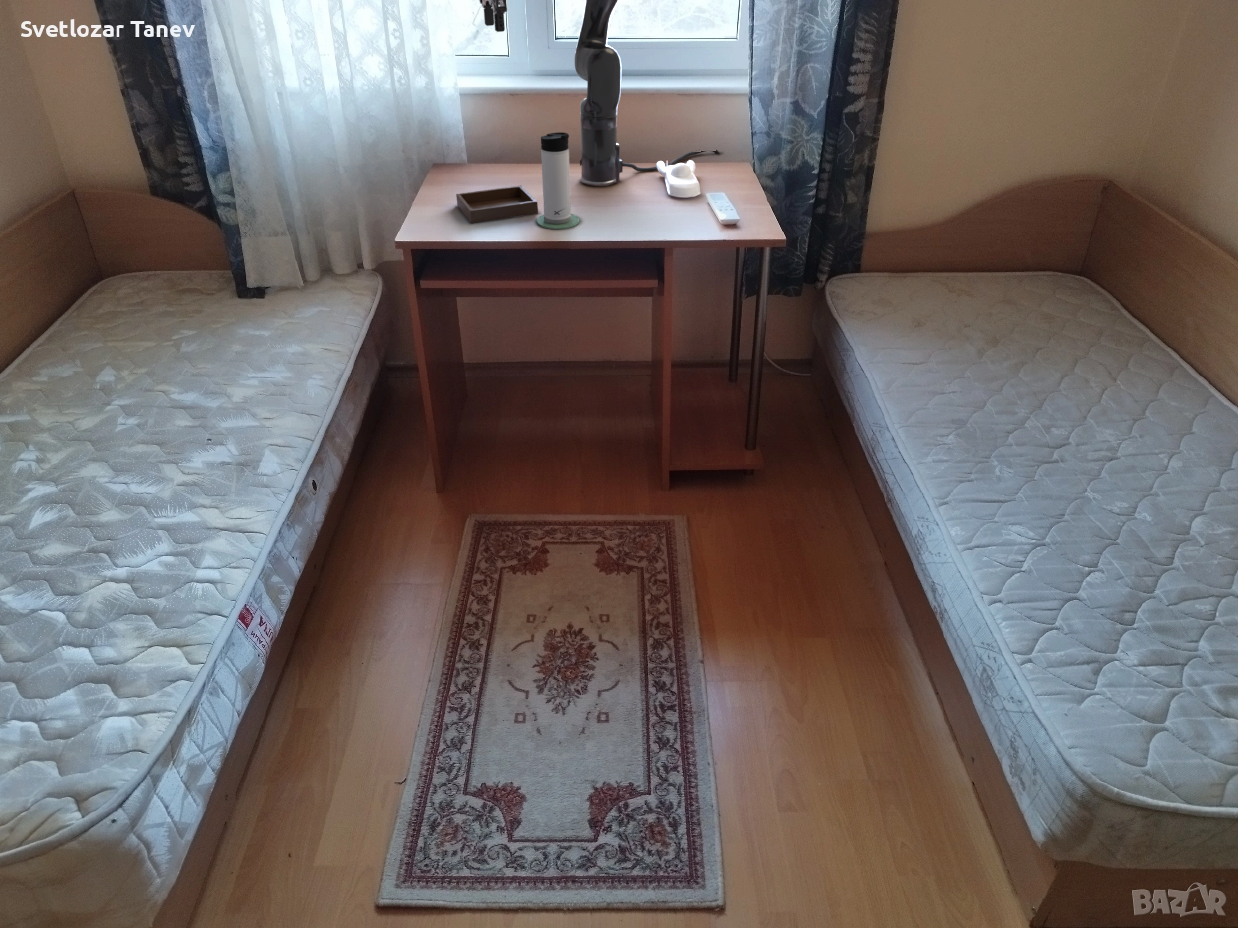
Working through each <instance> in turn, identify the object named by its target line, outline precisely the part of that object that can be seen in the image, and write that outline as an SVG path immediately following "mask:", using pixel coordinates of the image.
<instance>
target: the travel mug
mask: <svg viewBox="0 0 1238 928" xmlns="http://www.w3.org/2000/svg"><path fill="white" fill-rule="evenodd" d="M569 138H570V135H569V133H567V132H563V131H561V132H560V131H559V132H558V131H557V132H551V133H547V134H546V135H542V136H540V144H541V145H540V150H541V152H540V155H541V176H542V178H541V179H542V180H541V181H542V197H543V199H542V200H543V215H544V220H545V221H546V222H547V223H550V224H565V223H567V222H569V221H570V220H571V214H572V211H571V207H572V206H571V176H570V147H569V146H570V145H569Z"/></svg>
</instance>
